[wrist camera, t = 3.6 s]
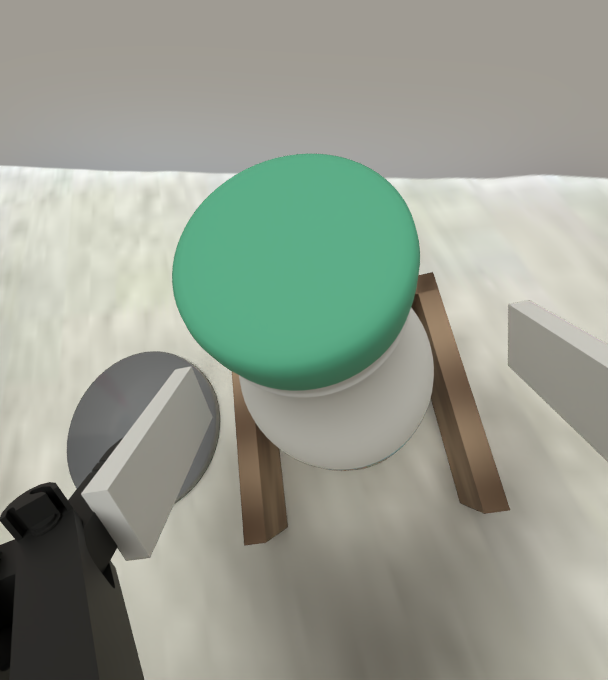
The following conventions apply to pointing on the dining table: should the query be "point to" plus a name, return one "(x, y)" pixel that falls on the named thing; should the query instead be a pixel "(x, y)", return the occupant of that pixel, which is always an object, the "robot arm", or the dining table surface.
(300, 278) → the milk bottle
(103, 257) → the dining table surface
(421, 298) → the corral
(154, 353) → the coaster
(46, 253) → the dining table surface
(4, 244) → the dining table surface
